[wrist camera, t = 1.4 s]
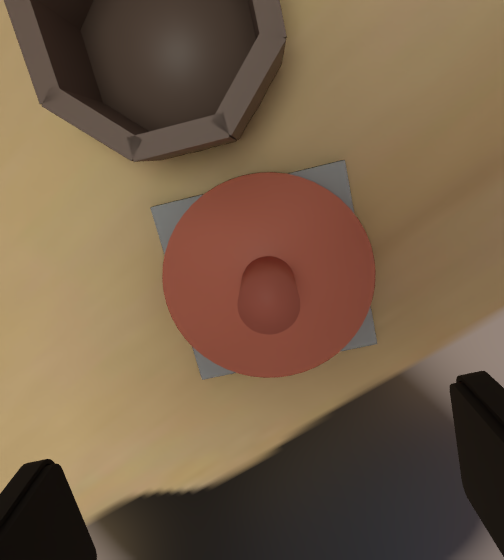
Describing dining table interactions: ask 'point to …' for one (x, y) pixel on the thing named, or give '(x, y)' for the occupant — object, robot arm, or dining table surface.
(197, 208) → the lid
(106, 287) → the dining table surface
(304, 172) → the mat
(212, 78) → the bowl
